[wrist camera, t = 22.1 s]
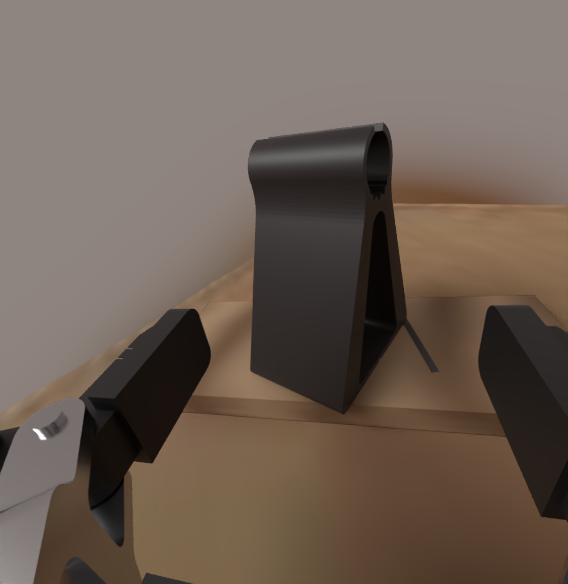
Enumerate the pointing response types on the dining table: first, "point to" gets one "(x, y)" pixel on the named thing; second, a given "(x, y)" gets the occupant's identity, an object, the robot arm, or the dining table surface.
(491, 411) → the oak board
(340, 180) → the phone stand
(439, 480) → the dining table surface
